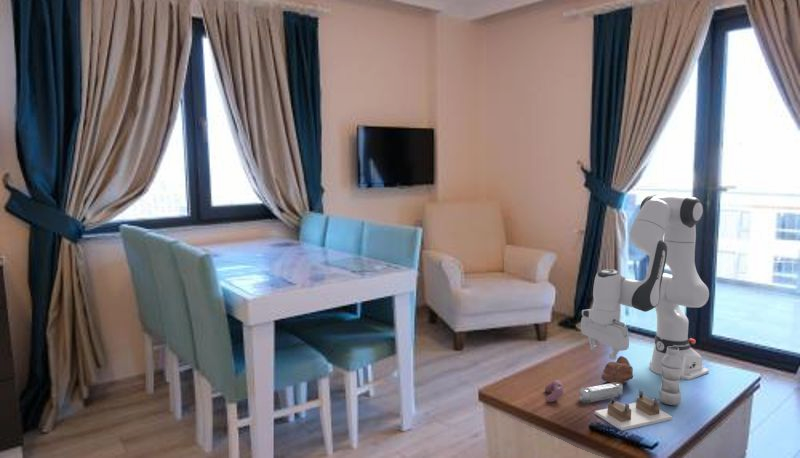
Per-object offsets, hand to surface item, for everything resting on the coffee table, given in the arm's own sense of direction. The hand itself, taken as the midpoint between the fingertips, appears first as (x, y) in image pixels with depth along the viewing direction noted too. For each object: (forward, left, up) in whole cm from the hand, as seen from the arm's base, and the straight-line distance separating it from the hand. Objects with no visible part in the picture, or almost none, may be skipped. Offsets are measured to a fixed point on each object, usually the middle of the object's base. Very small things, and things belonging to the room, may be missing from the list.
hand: (602, 354), depth 186 cm
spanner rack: (0, +15, -16) cm, 22 cm away
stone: (-15, -7, -16) cm, 23 cm away
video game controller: (+15, -6, -16) cm, 23 cm away
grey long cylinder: (0, 0, -16) cm, 16 cm away
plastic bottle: (-19, +12, -16) cm, 28 cm away
